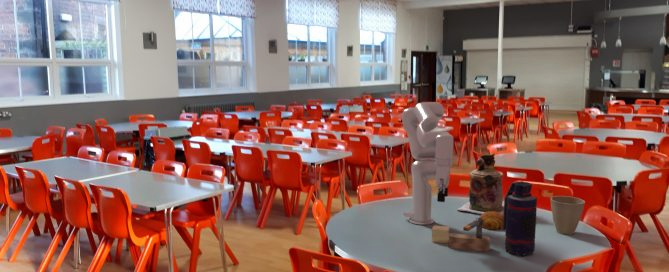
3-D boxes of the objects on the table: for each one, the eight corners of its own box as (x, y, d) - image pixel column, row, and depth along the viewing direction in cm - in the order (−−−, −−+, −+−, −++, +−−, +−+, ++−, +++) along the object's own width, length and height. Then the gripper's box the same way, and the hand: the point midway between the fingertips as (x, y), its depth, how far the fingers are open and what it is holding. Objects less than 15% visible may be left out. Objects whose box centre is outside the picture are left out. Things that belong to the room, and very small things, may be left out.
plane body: (448, 247, 229) (449, 222, 228) (449, 243, 234) (450, 219, 233) (489, 251, 224) (490, 226, 222) (489, 248, 229) (490, 223, 227)
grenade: (540, 253, 222) (543, 183, 218) (522, 259, 216) (525, 187, 212) (513, 244, 234) (516, 178, 230) (495, 249, 227) (497, 181, 223)
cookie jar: (471, 202, 307) (473, 148, 303) (514, 208, 293) (517, 151, 289) (455, 211, 287) (457, 153, 283) (500, 218, 273) (502, 158, 269)
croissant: (475, 231, 259) (474, 216, 257) (483, 219, 272) (482, 205, 270) (505, 235, 252) (505, 220, 250) (512, 223, 265) (512, 208, 263)
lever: (469, 231, 214) (469, 227, 214) (462, 230, 216) (462, 226, 216) (484, 222, 226) (484, 219, 226) (477, 221, 228) (477, 217, 228)
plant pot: (549, 235, 246) (551, 202, 244) (548, 226, 260) (549, 194, 258) (584, 238, 241) (586, 205, 239) (581, 229, 255) (583, 197, 253)
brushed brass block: (431, 242, 237) (431, 229, 236) (433, 237, 243) (433, 225, 242) (447, 243, 235) (447, 230, 234) (448, 239, 241) (449, 226, 240)
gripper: (438, 157, 244) (437, 193, 247) (432, 164, 228) (431, 203, 231) (454, 158, 242) (453, 195, 244) (449, 166, 226) (448, 204, 228)
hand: (442, 198), depth 237 cm, fingers open, 9 cm apart
